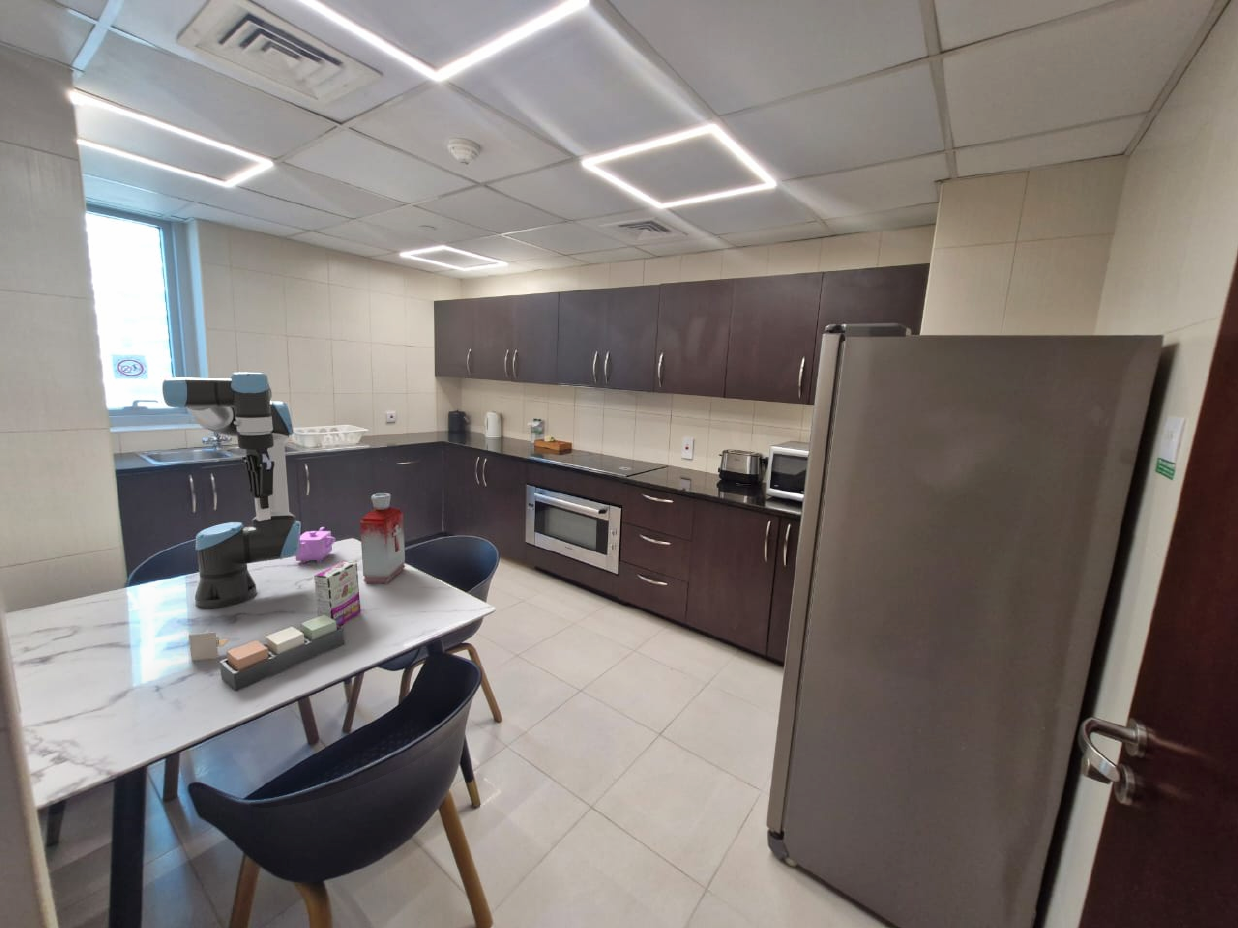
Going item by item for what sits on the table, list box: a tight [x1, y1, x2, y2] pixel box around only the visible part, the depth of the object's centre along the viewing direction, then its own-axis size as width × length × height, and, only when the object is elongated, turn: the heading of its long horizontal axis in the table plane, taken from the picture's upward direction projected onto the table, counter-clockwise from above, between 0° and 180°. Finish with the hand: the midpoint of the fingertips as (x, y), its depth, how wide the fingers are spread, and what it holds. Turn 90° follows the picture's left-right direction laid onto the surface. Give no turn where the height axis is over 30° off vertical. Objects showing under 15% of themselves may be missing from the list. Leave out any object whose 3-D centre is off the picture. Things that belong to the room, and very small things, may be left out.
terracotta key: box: [226, 639, 269, 671], centre depth 116 cm, size 6×6×5 cm
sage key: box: [300, 615, 337, 641], centre depth 129 cm, size 6×6×5 cm
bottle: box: [359, 492, 406, 585], centre depth 172 cm, size 14×10×30 cm
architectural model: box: [188, 629, 230, 662], centre depth 123 cm, size 3×7×7 cm, turn 107°
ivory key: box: [265, 626, 304, 655], centre depth 122 cm, size 6×6×5 cm
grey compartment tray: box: [219, 625, 346, 692], centre depth 123 cm, size 8×25×4 cm, turn 147°
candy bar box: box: [314, 560, 361, 627], centre depth 141 cm, size 11×5×16 cm, turn 168°
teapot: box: [294, 526, 336, 564], centre depth 186 cm, size 15×13×11 cm
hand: (263, 519), depth 131 cm, fingers closed
